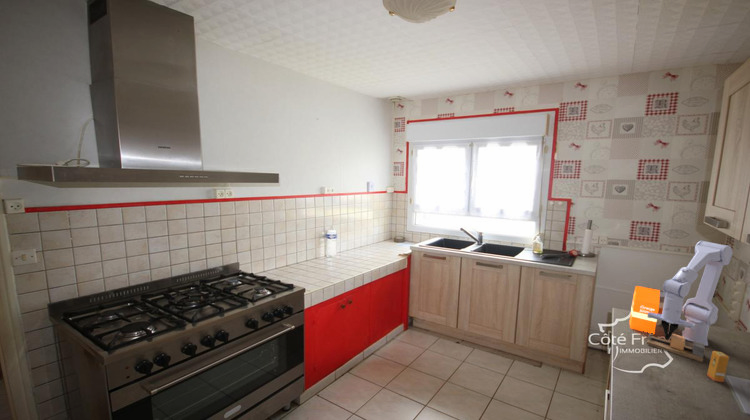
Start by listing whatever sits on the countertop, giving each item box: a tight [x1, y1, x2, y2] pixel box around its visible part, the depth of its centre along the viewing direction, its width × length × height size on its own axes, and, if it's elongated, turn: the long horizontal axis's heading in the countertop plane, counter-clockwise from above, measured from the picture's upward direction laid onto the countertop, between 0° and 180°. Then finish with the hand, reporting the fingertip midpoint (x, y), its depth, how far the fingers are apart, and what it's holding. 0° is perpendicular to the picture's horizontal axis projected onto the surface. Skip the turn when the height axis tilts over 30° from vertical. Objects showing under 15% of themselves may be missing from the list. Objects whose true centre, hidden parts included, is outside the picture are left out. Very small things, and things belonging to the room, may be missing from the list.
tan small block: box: [670, 333, 686, 350], centre depth 134 cm, size 5×4×4 cm
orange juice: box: [628, 285, 661, 335], centre depth 150 cm, size 8×9×20 cm
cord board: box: [646, 333, 706, 363], centre depth 135 cm, size 9×17×5 cm, turn 46°
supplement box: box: [706, 350, 730, 383], centre depth 116 cm, size 3×3×10 cm
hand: (667, 338), depth 136 cm, fingers closed
